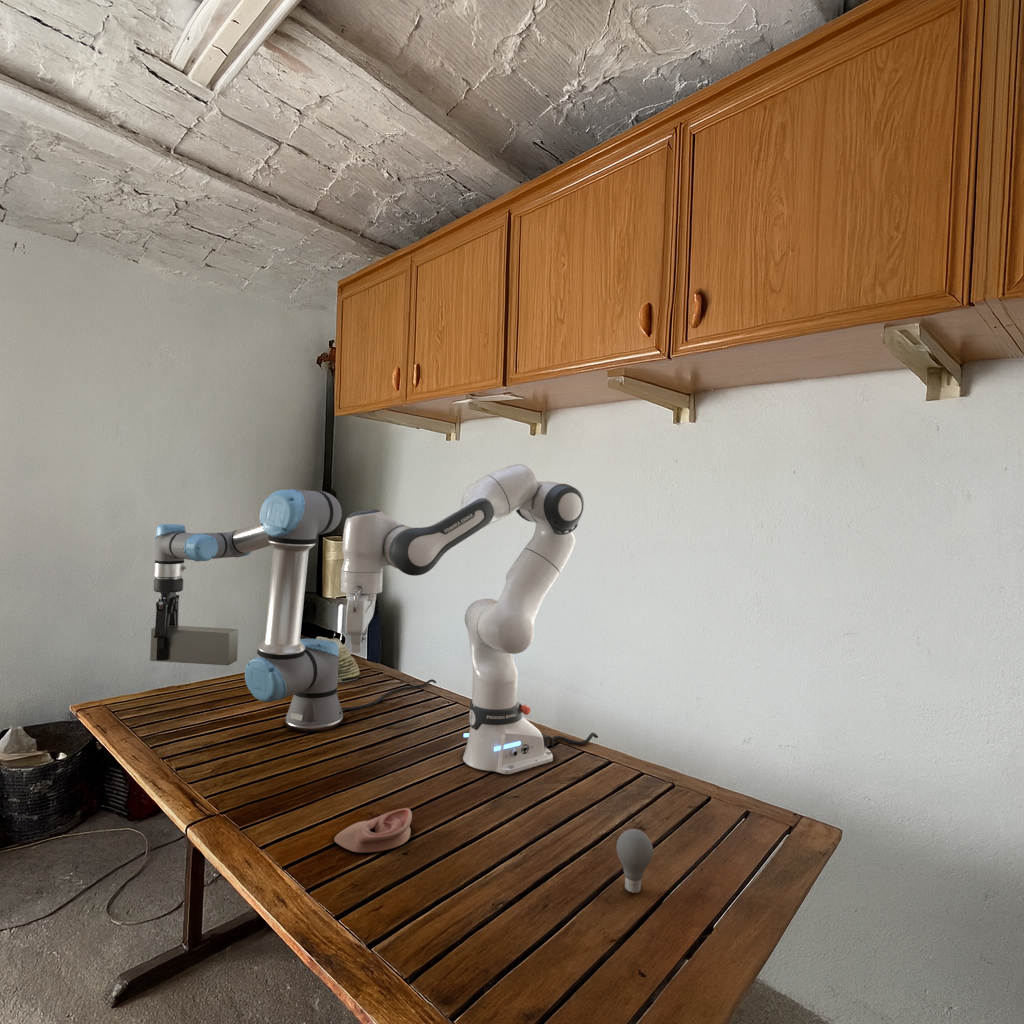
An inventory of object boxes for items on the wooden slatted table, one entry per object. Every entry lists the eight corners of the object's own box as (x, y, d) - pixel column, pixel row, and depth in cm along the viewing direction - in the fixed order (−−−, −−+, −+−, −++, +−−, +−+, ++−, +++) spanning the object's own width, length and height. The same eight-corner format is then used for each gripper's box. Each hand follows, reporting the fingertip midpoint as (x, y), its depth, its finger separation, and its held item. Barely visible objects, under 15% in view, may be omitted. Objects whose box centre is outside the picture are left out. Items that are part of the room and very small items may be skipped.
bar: (149, 660, 181) (151, 628, 180) (161, 656, 186) (162, 624, 186) (228, 665, 180) (229, 632, 180) (237, 660, 185) (238, 629, 185)
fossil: (300, 681, 213) (301, 637, 213) (350, 673, 226) (352, 631, 226) (311, 688, 207) (313, 642, 207) (362, 679, 219) (364, 636, 219)
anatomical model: (326, 826, 114) (355, 797, 125) (325, 847, 114) (354, 817, 126) (396, 837, 112) (418, 806, 123) (395, 859, 112) (417, 827, 123)
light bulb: (610, 879, 108) (613, 822, 108) (644, 879, 109) (647, 822, 109) (619, 902, 102) (622, 840, 102) (655, 901, 103) (658, 840, 103)
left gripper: (173, 582, 174) (170, 665, 175) (192, 573, 193) (189, 648, 194) (143, 582, 172) (139, 666, 173) (165, 573, 191) (162, 648, 192)
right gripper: (371, 591, 128) (368, 659, 128) (380, 578, 148) (378, 637, 149) (339, 590, 127) (336, 658, 128) (353, 577, 148) (350, 636, 148)
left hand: (165, 656), depth 183 cm, fingers closed on bar, 6 cm apart
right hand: (359, 646), depth 138 cm, fingers open, 8 cm apart
